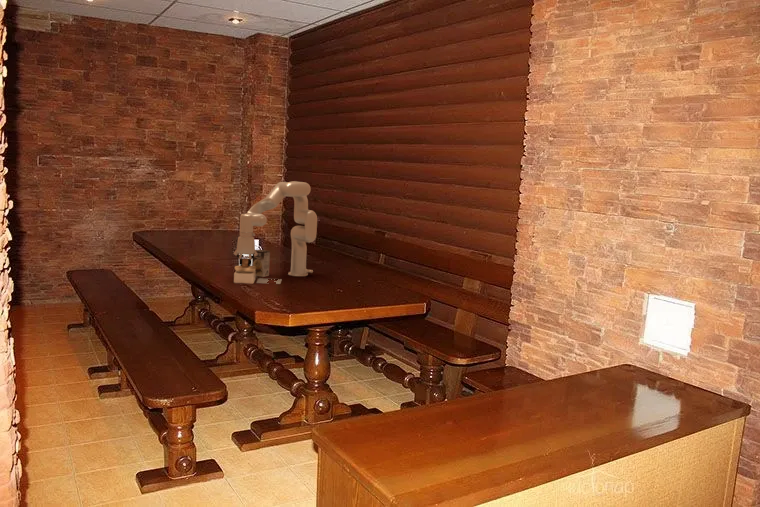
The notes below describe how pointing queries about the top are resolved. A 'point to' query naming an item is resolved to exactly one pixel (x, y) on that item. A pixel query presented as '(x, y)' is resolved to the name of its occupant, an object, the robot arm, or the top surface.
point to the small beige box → (244, 277)
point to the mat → (268, 280)
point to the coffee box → (261, 263)
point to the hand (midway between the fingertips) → (245, 265)
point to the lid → (245, 266)
